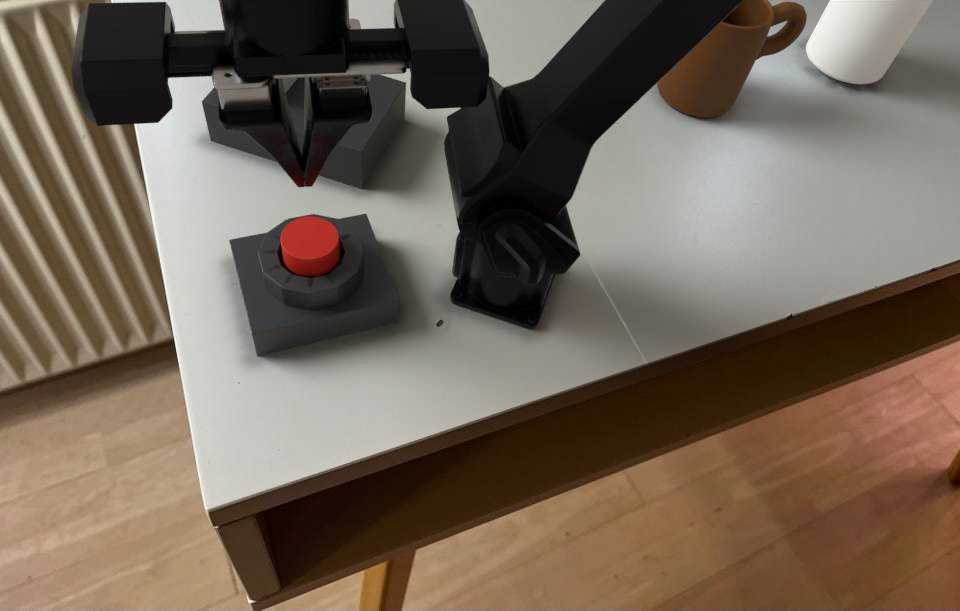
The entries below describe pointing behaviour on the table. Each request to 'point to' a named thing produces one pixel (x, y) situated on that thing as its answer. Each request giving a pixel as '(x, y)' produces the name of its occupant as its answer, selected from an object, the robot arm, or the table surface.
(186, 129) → the table surface
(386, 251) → the table surface
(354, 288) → the push button box
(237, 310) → the table surface
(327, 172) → the slider switch box
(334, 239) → the stop button
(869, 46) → the beverage can
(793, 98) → the table surface
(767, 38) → the mug
